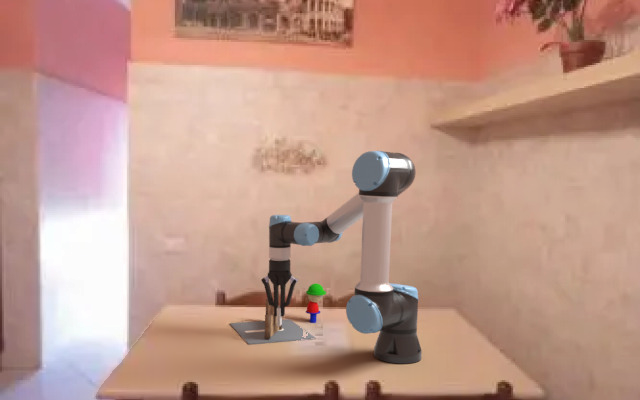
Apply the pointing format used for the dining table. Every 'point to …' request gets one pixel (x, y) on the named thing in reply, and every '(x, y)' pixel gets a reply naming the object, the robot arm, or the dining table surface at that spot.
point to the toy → (314, 300)
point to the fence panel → (270, 325)
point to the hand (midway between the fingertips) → (279, 325)
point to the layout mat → (256, 335)
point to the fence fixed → (270, 311)
